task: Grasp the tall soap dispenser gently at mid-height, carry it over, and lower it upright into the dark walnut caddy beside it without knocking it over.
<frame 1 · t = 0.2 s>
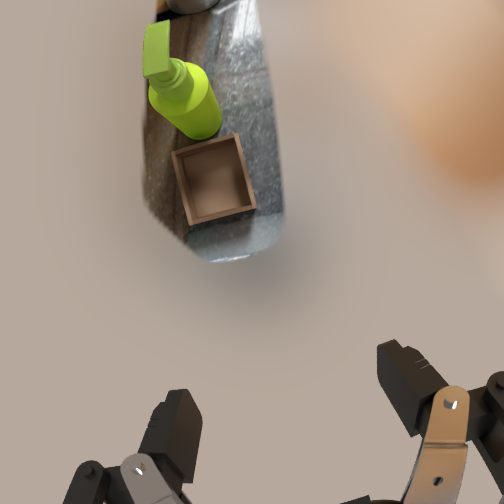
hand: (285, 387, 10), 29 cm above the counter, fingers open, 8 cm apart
walnut caddy: (217, 180, 36), on the counter
soap dispenser: (200, 116, 34), on the counter
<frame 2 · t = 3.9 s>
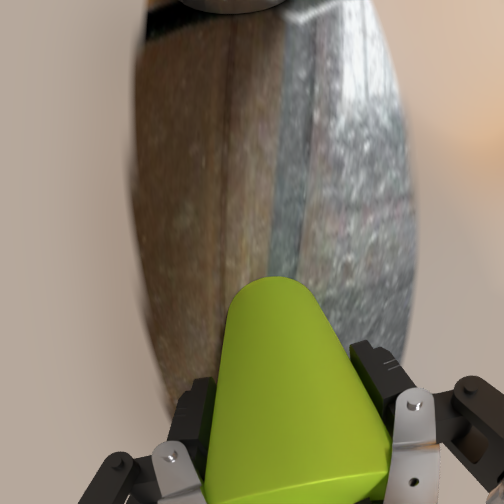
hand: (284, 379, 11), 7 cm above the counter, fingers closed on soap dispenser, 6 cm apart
soap dispenser: (272, 311, 17), on the counter, touching gripper
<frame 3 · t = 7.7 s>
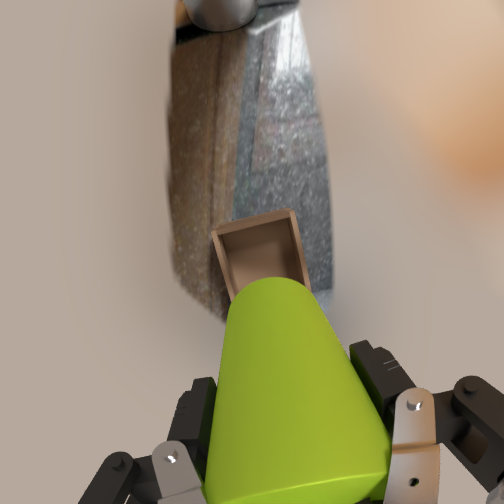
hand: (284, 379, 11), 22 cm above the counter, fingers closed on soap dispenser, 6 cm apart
walnut caddy: (261, 255, 32), on the counter
soap dispenser: (273, 311, 17), point 16 cm above the counter, touching gripper
when the fingers open (9 cm above the counter, at t = 11.1 s): soap dispenser drops 1 cm, resting on walnut caddy.
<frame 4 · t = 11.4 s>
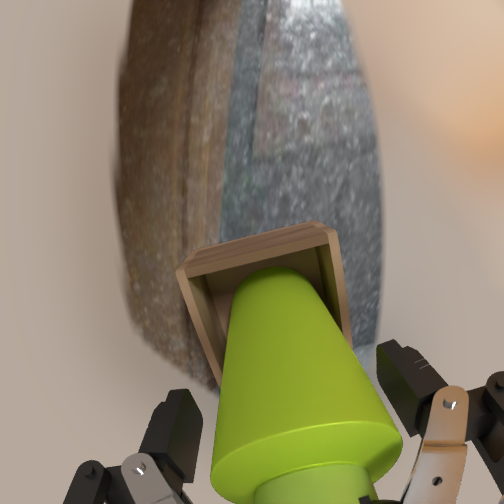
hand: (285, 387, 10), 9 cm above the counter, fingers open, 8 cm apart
walnut caddy: (269, 299, 19), on the counter
soap dispenser: (274, 299, 19), point 1 cm above the counter, touching walnut caddy
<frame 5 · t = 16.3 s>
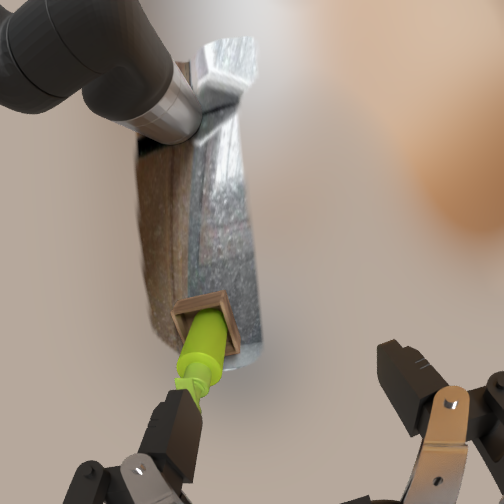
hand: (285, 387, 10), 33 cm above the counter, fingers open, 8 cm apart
walnut caddy: (209, 319, 45), on the counter
soap dispenser: (210, 320, 45), point 1 cm above the counter, touching walnut caddy
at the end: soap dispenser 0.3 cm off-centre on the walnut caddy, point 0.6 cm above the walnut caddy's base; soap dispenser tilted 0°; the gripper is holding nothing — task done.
